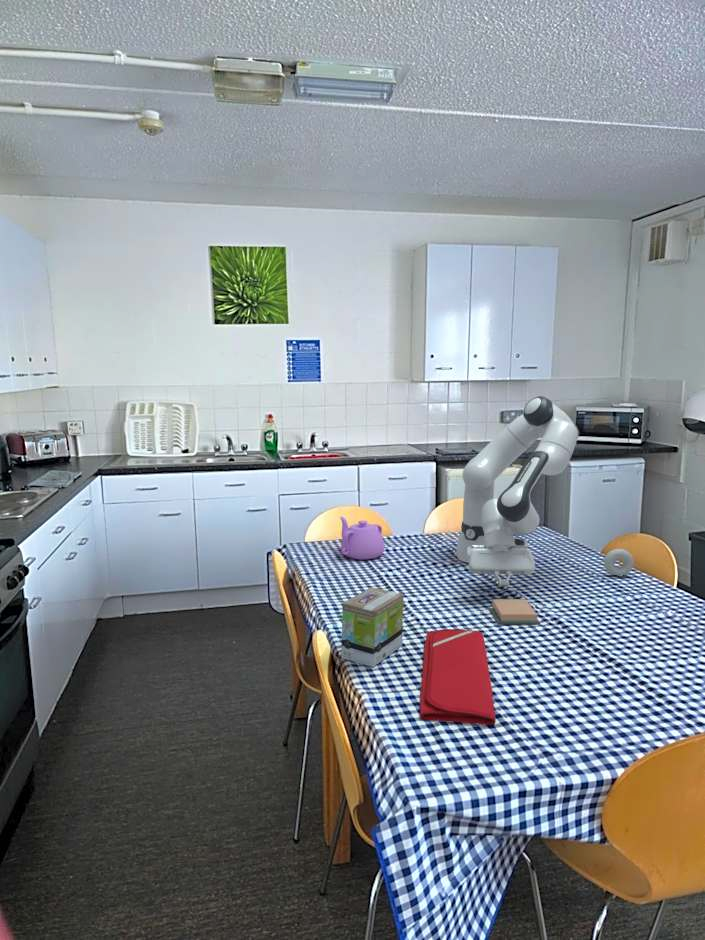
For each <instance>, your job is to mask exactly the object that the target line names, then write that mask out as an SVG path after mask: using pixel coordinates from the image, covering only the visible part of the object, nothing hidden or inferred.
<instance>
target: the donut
mask: <svg viewBox="0 0 705 940" xmlns="http://www.w3.org/2000/svg"><path fill="white" fill-rule="evenodd" d="M633 557H634V556H632V554H631V553H630V552H629V551H628V550H626V549H624V548H615V549H612V550H610V551H609V552H607V554H606V555H605V557H604V560H603V566H604V569H605V571H606V572H607V573H608V574H609V575H611V574H612V575H611V576H613V575H619V577H622V576H621V575H624V576H626V575H628V574H629V573H630V572H631V571H632V570H633V568H634V564H635V561H634V558H633ZM618 559H621V560H622V561H623V562H622V565H620V566H616V565H615V561H616V560H618Z"/></svg>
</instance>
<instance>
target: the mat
mask: <svg viewBox="0 0 705 940" xmlns="http://www.w3.org/2000/svg"><path fill="white" fill-rule="evenodd" d="M489 612H490V614H491V615H492V617H493V619H494V621H495V623H496V624H497V625H541V624H540V621H539V619H538V618H537V622H509V623H501V621H500V619H499V617H498V616H497V614H496V612H495V611H494V609H493V607H489Z"/></svg>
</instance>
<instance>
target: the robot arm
mask: <svg viewBox="0 0 705 940" xmlns="http://www.w3.org/2000/svg"><path fill="white" fill-rule="evenodd" d="M579 436H580V430H579V428H578V426H577V424H576V423H575V422H574V421H573V420H572V419H571V418H570V417H569V415H568V414H567V413H566V412H565V411H564V410H562V409H561V408H559V407H558V405H556V404H554V402H552V401H551V400H550V399H548V398H547V397H546V396H542V395H540V396H539V395H538V396H535V397H534V398H532V399H530V400H529V401H528V402H527V403H526V405H524V409H523V412H522V414H520V415H519V416H518V417H516V418H515V419H514V420H513V421H511V422H509V424H508V425H507V426H506V427H505V428H503V429H502V430H501V431H500V432H499V433H498V434H497V435H496V436H495V437H494V438H493V439H492V440H491V441H490V442H489V443H488V444H487V445H486V446H485V447H484V448H483V449H481V451H479V452H478V454H476V456H474V457H473V458H471V459H470V460H469V461H468V463H466V465H465V467H464V468H463V471H462V480H463V482H464V492H463V493H464V494H463V495H464V496H463V501H462V502H463V505H462V507H463V508H462V509H463V510H462V521H461V525H460V529H461V531H460V532H461V533H459V534H458V535H457V536H458V537H457V547H456V551H454V552H453V555H454V556H455V557H457V560H459V561H461V562H463V563H464V562H465V563H468V571H469V573H470V574H476V575H479V574H481V575H482V574H483V575H487V574H488V575H493V578H494V579H495V580H496V581H497V583H498V585H497V586H498V587H506V588H507V587H510V578H511V576H512V575H525V576H526V575H528V576H529V575H530V576H531V575H532V574H533V573H534V572H535V569H536V562H535V560H534V555H533V554H532V551H531V550H530V549H529V542H528V541H527V540H525V539H521V538H518V536H526V535H531V534H533V533H534V532H535V531H536V530H537V529H538V528H539V526H540V523H541V518H540V515H539V514H538V511H537V510H536V508H535V507H534V505H533V504H532V500H531V492H532V489H533V488H534V486H535V485H536V484H537V481H538V480H539V478H540V477H541V476H542V475H545V476H557V475H559V474H562V473H563V471H564V470H565V469H566V467H567V466H568V463H569V462H570V460H571V458H572V455H573V453H574V450H575V447H576V445H577V441H578V438H579ZM538 439H541V440H540V441H539V443H538V445H537V447H536V449H535V450H534V452H532V453H531V454H530V455H529V456H528V457H527V459H525V461H524V463H523V465H522V466H521V468H520V469H519V470H518V472H517V474H516V475H515V477H514V479H513V481H512V482H511V483H510V484H509V486H508V487H507V488H506V489H504V490H503V491H502V492H501V493H500V495H499V497H498V498H497V497H496V498H494V492H495V482H496V481H495V480H497V478H498V477H500V476H501V474H503V472H504V471H506V470H507V469H508V468H509V466H510V465H511V464H512V463H513V462H515V461H516V460H517V459H518V458H519V457H520V456H521V455H522V454H523V453H524V452H526V451H527V450H528V449H529V448H530V447H531V446H532V445H533V444H534V443H535V442H536V441H537V440H538ZM500 575H505V578H501V577H500Z"/></svg>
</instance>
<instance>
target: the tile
mask: <svg viewBox="0 0 705 940" xmlns="http://www.w3.org/2000/svg"><path fill="white" fill-rule="evenodd" d="M491 603H492V604H491V606H492V607H491V608H493V609H494V611H495V612H496V614H497V616H498V617H499V619H500V621H501V623H509V622H537V619H538V617H537V616H538V613H537V612H536V611H535V610H534V609H533V607H532V605H531V604H529V602H528V601H527V599H525V598H522V599H518V598H517V599H515V598H513V599H512V598H511V599H508V598H507V599H505V598H503V599H501V598H500V599H499V598H498V599H497V598H495V599H492V600H491Z"/></svg>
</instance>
